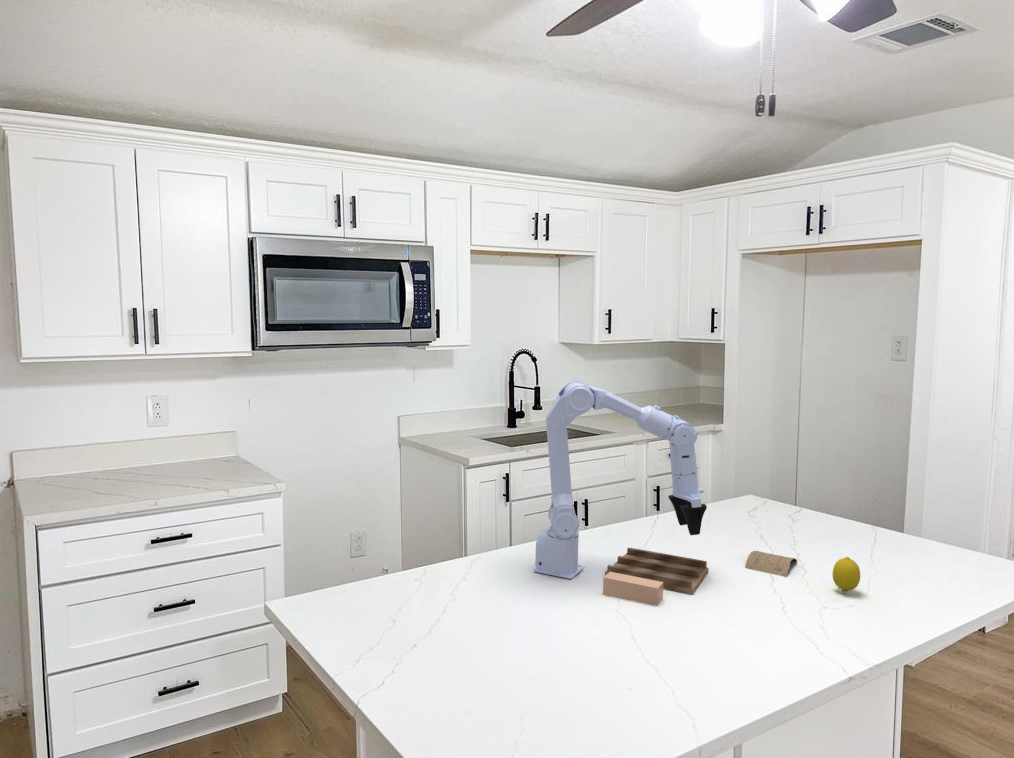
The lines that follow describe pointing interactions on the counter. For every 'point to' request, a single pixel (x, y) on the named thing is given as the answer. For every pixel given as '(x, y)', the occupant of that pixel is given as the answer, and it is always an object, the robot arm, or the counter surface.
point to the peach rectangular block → (633, 588)
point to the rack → (662, 569)
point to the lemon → (846, 574)
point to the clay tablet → (768, 563)
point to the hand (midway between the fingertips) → (689, 529)
